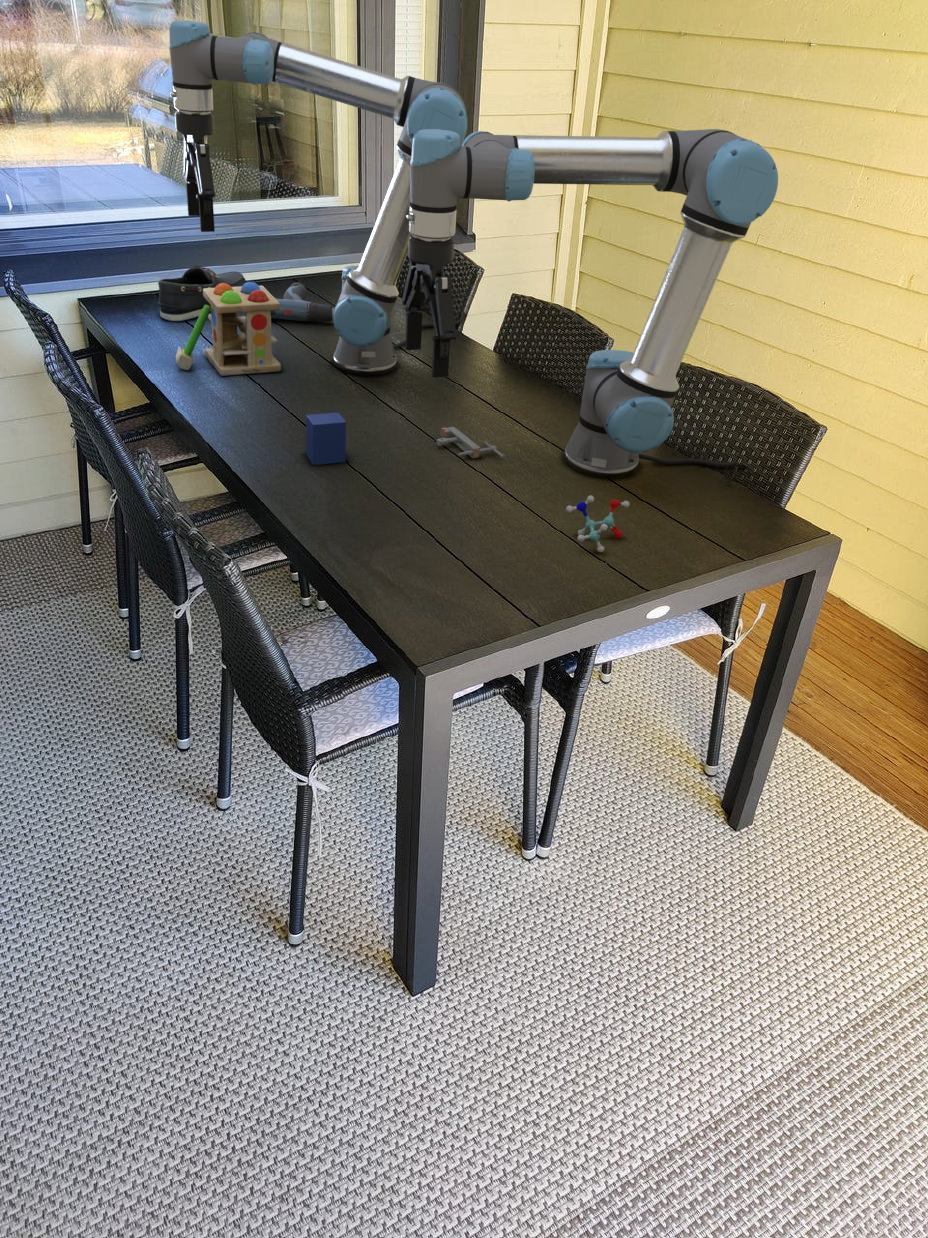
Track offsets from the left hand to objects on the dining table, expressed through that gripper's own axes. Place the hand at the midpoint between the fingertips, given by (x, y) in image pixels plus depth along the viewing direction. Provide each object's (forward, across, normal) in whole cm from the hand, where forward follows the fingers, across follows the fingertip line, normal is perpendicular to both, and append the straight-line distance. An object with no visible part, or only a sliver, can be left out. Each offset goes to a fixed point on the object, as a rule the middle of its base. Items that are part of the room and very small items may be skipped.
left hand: (201, 223), depth 207 cm
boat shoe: (+33, -49, +9) cm, 60 cm away
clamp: (+33, +53, +41) cm, 75 cm away
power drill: (+33, -39, +34) cm, 61 cm away
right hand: (+8, +67, +25) cm, 72 cm away
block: (+33, +50, +12) cm, 61 cm away
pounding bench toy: (+33, -4, +4) cm, 33 cm away
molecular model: (+33, +93, +49) cm, 110 cm away
